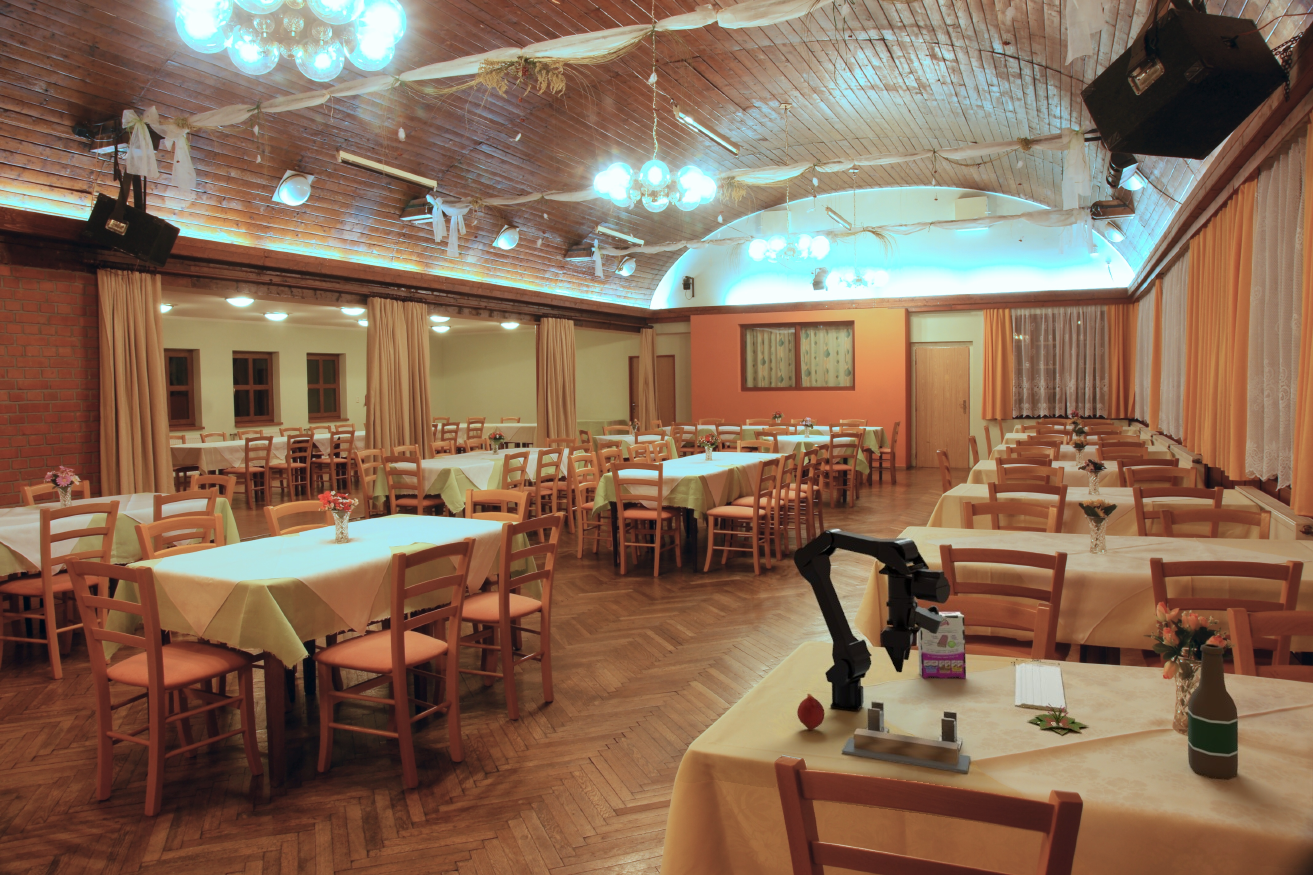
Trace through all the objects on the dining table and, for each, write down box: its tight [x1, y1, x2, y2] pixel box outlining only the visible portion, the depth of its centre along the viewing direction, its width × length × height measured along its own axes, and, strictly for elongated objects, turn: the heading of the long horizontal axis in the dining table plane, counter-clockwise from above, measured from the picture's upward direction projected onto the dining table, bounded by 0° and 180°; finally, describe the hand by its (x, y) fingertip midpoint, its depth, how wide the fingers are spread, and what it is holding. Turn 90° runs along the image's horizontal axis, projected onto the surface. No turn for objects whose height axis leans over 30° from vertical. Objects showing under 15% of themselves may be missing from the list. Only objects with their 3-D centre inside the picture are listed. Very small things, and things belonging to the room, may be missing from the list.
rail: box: [853, 728, 960, 764], centre depth 162 cm, size 20×3×3 cm, turn 64°
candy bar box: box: [917, 611, 967, 679], centre depth 209 cm, size 11×5×16 cm, turn 82°
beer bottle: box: [1187, 643, 1239, 781], centre depth 152 cm, size 8×8×24 cm
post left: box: [865, 700, 890, 733], centre depth 174 cm, size 4×6×6 cm
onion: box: [796, 693, 825, 731], centre depth 177 cm, size 6×6×8 cm
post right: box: [938, 710, 963, 752], centre depth 167 cm, size 4×6×6 cm
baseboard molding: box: [1010, 658, 1067, 713], centre depth 200 cm, size 31×3×12 cm
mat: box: [841, 737, 971, 774], centre depth 162 cm, size 24×7×1 cm, turn 64°
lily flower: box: [1028, 703, 1088, 735], centre depth 176 cm, size 12×12×5 cm
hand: (902, 665), depth 179 cm, fingers open, 9 cm apart
